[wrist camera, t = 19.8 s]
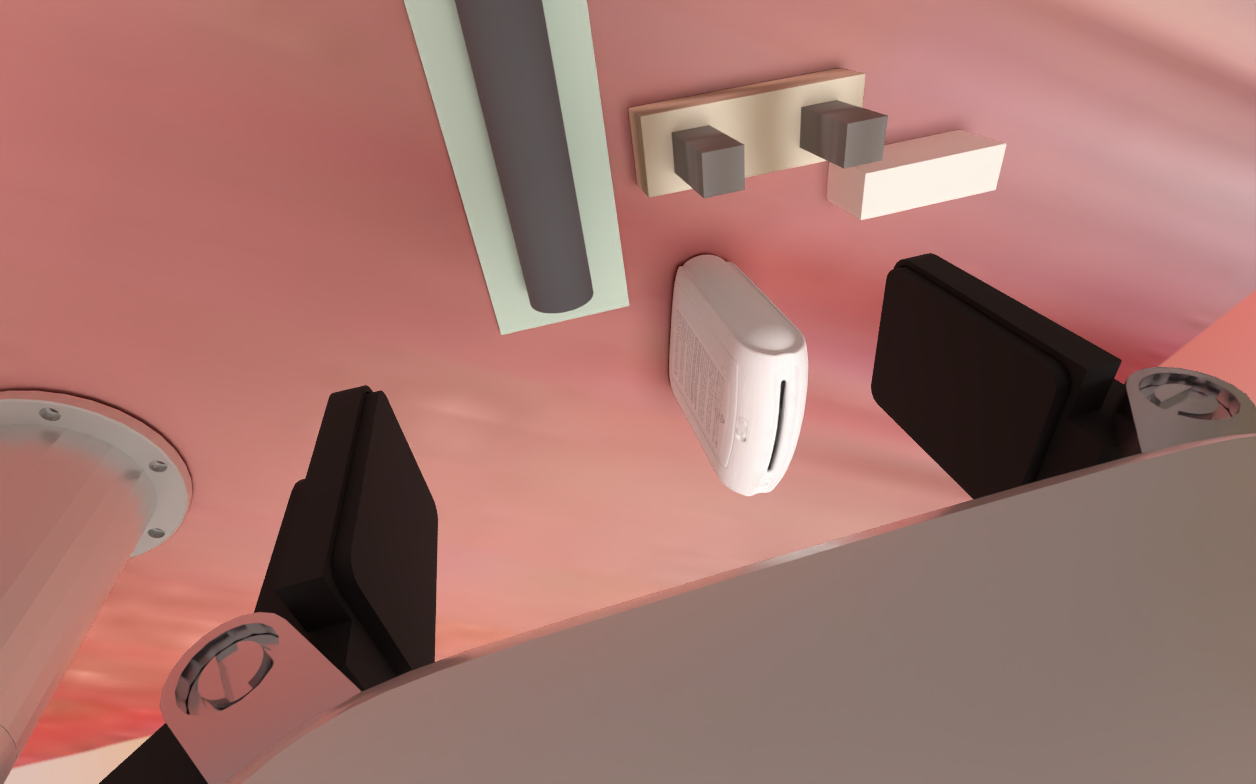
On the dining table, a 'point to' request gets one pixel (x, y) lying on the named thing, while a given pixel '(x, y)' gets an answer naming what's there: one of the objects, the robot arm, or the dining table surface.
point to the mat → (477, 169)
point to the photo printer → (737, 373)
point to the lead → (529, 146)
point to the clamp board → (754, 133)
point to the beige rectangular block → (918, 174)
